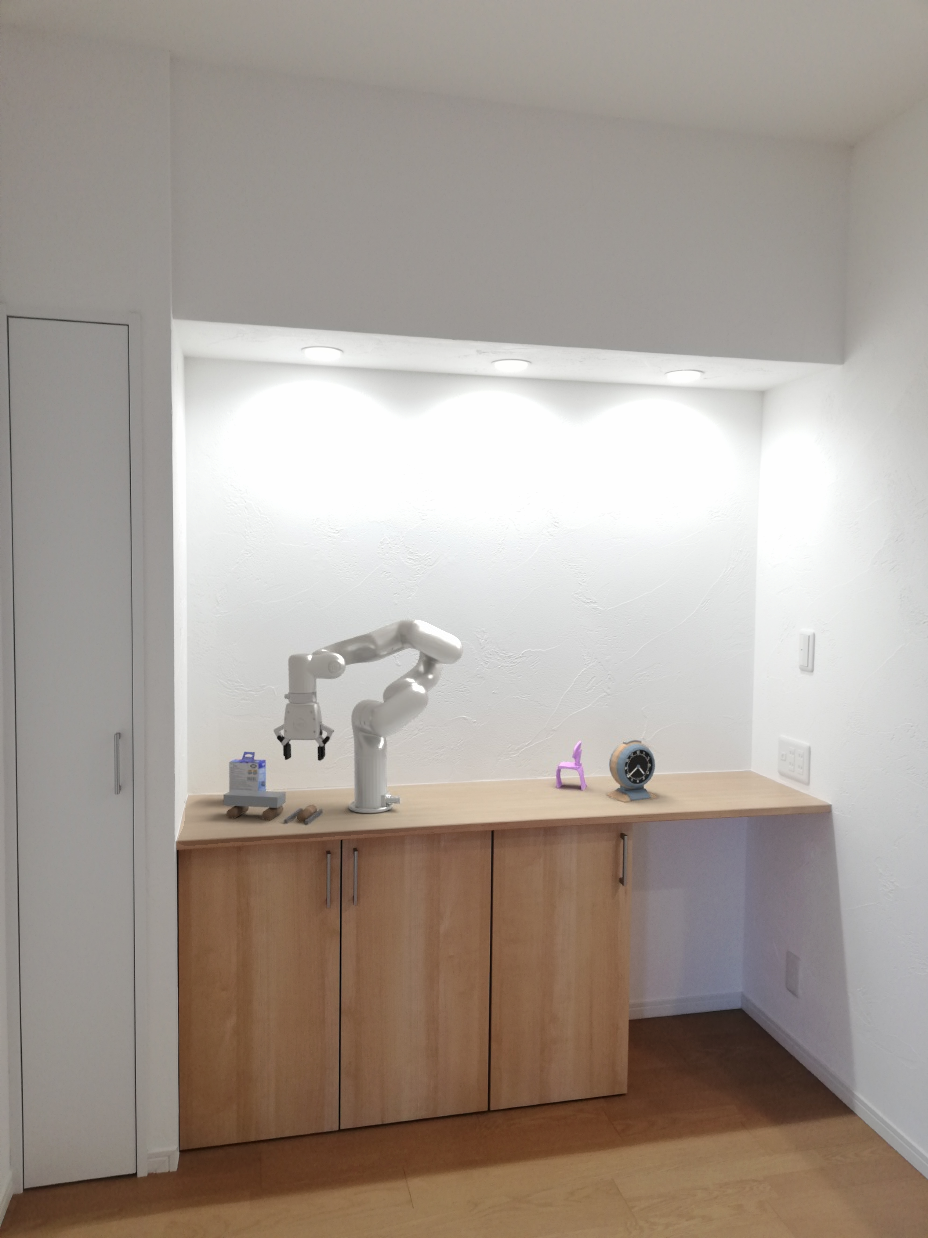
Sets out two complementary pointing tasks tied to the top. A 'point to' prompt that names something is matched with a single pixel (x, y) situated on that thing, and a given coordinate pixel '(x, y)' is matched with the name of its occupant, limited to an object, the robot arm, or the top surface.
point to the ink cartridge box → (247, 774)
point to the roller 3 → (306, 813)
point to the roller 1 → (236, 811)
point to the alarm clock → (631, 771)
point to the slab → (254, 798)
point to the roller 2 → (271, 813)
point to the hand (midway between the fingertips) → (304, 759)
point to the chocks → (305, 820)
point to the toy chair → (572, 767)
